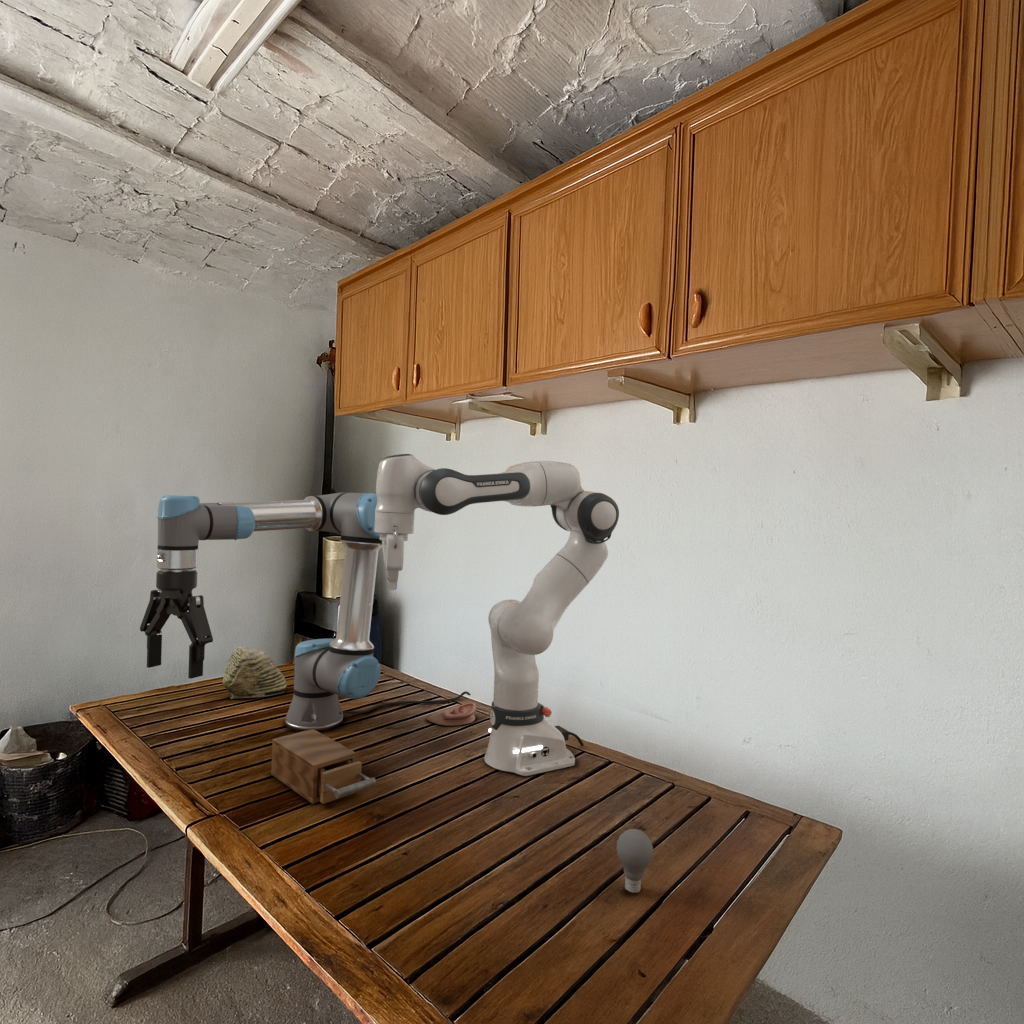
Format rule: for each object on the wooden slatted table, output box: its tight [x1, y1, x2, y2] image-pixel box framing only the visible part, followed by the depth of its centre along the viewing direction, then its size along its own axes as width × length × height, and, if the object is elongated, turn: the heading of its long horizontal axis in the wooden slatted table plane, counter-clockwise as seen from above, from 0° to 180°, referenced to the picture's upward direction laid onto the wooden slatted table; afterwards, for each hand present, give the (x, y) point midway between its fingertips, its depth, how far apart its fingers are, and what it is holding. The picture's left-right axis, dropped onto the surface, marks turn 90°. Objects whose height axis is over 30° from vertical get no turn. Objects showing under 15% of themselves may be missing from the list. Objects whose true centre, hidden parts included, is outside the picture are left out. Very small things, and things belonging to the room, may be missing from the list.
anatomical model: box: [426, 702, 477, 726], centre depth 183 cm, size 13×4×12 cm
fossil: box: [222, 646, 288, 699], centre depth 198 cm, size 9×18×15 cm, turn 132°
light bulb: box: [615, 828, 654, 894], centre depth 106 cm, size 6×6×10 cm
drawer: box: [317, 759, 377, 805], centre depth 136 cm, size 23×9×6 cm, turn 47°
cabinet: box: [270, 729, 357, 805], centre depth 140 cm, size 19×10×8 cm, turn 47°
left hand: (174, 671), depth 132 cm, fingers open, 13 cm apart
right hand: (391, 586), depth 143 cm, fingers open, 8 cm apart
